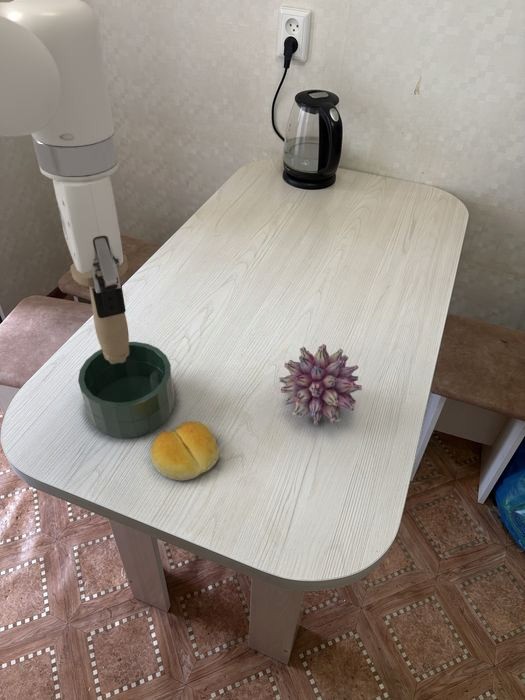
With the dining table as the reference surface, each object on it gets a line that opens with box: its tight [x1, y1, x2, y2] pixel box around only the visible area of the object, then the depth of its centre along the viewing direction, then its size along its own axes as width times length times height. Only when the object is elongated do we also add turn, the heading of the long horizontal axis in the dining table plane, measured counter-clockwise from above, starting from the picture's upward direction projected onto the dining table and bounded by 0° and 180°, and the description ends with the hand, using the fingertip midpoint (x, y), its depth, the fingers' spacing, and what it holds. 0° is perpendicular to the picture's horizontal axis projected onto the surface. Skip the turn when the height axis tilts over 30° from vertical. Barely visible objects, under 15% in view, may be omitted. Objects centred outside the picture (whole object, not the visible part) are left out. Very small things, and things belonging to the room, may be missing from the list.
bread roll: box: [150, 420, 220, 481], centre depth 68 cm, size 8×9×4 cm
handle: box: [70, 253, 130, 364], centre depth 63 cm, size 5×6×15 cm
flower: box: [278, 343, 363, 427], centre depth 73 cm, size 12×12×12 cm
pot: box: [77, 341, 175, 439], centre depth 73 cm, size 13×13×7 cm
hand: (105, 298), depth 61 cm, fingers closed on handle, 5 cm apart
